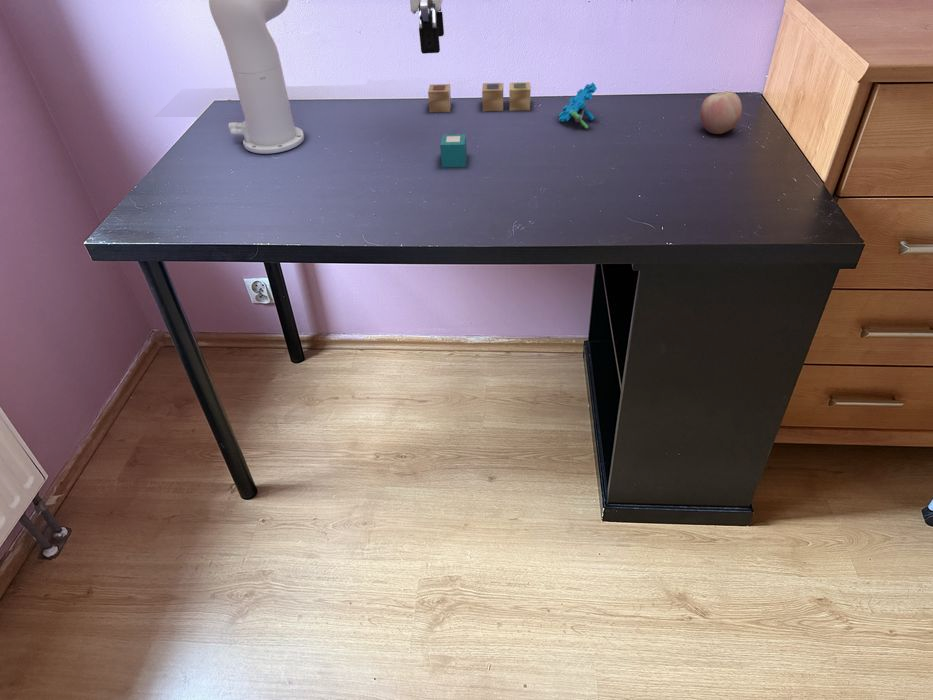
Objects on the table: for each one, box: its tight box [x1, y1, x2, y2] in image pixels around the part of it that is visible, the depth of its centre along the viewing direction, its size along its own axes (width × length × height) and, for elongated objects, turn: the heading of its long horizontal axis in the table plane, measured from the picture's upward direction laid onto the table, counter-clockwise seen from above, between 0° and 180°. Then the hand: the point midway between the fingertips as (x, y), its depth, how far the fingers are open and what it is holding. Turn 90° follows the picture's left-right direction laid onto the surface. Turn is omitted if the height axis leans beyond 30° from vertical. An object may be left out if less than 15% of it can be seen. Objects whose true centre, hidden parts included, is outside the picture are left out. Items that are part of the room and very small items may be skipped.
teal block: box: [439, 133, 468, 168], centre depth 127 cm, size 5×5×5 cm
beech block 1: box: [427, 83, 452, 113], centre depth 149 cm, size 5×5×5 cm
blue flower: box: [558, 82, 598, 130], centre depth 140 cm, size 11×6×10 cm
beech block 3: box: [508, 81, 531, 112], centre depth 147 cm, size 5×5×5 cm
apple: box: [699, 90, 743, 135], centre depth 132 cm, size 8×8×8 cm
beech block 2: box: [481, 82, 504, 112], centre depth 148 cm, size 5×5×5 cm
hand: (433, 44), depth 117 cm, fingers open, 9 cm apart
